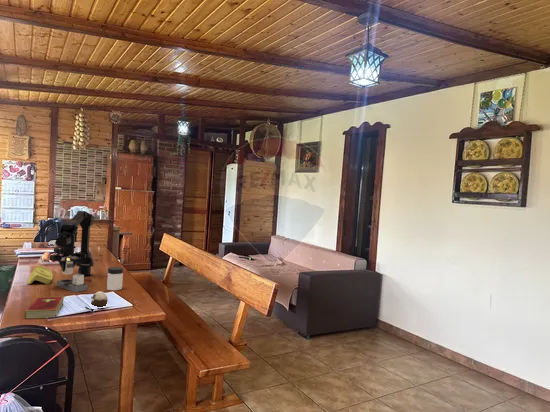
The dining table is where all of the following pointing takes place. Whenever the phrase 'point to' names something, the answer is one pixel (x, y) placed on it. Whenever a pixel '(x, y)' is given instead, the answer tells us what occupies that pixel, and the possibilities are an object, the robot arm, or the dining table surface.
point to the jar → (115, 278)
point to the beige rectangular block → (68, 268)
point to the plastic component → (40, 275)
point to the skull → (99, 299)
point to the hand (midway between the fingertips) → (67, 271)
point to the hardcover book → (44, 307)
